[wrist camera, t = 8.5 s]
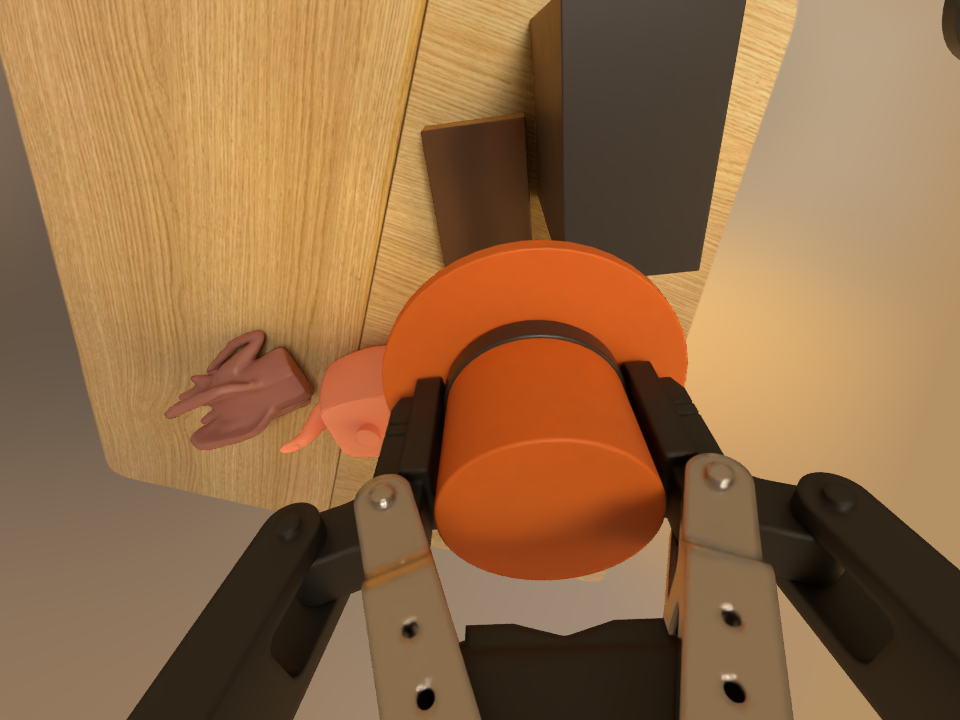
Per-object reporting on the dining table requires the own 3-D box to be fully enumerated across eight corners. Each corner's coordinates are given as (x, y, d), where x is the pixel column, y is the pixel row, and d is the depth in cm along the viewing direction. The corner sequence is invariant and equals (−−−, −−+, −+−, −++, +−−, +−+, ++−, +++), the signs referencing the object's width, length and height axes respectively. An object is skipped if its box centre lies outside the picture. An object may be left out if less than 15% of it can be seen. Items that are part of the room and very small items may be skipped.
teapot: (441, 319, 51) (429, 381, 42) (470, 393, 58) (464, 463, 48) (292, 353, 55) (248, 419, 45) (334, 420, 62) (304, 490, 52)
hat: (706, 220, 11) (844, 324, 6) (661, 467, 16) (721, 613, 12) (348, 257, 11) (269, 373, 7) (417, 483, 16) (393, 625, 12)
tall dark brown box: (634, 2, 34) (760, -43, 18) (623, 186, 42) (703, 270, 26) (529, 19, 35) (560, -10, 19) (538, 197, 43) (564, 284, 27)
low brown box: (523, 112, 39) (524, 116, 36) (531, 259, 47) (533, 271, 44) (424, 126, 40) (420, 131, 37) (449, 268, 48) (447, 280, 45)
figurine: (269, 312, 56) (152, 368, 53) (272, 340, 48) (133, 409, 45) (317, 382, 63) (215, 436, 60) (327, 418, 54) (209, 482, 51)
